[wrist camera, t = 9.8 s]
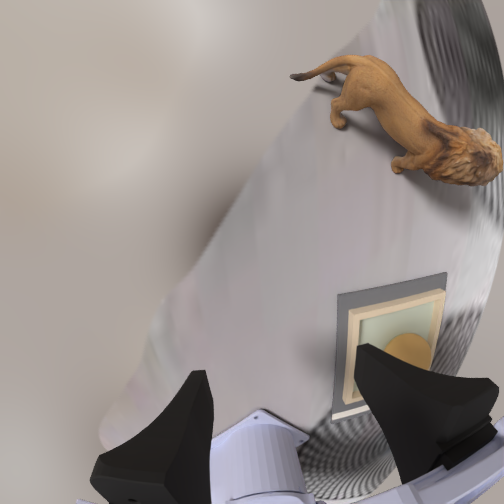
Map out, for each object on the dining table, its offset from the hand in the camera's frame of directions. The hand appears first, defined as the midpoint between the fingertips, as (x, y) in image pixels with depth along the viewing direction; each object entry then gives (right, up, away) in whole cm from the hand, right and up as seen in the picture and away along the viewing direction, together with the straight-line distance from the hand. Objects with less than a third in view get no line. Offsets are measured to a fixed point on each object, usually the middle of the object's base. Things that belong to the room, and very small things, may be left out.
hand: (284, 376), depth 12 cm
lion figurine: (+8, +16, +7) cm, 19 cm away
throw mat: (+12, -4, +12) cm, 17 cm away
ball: (+12, -4, +9) cm, 16 cm away
